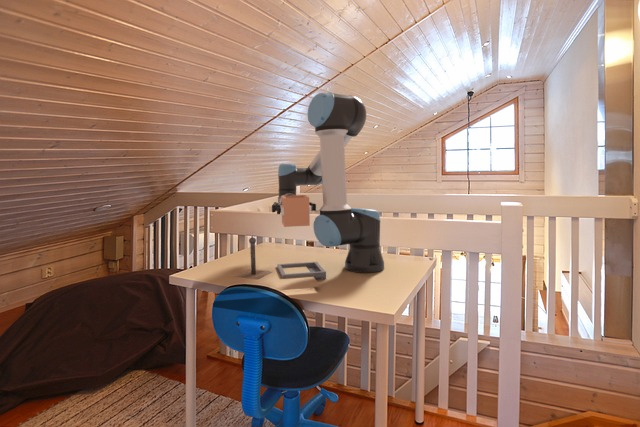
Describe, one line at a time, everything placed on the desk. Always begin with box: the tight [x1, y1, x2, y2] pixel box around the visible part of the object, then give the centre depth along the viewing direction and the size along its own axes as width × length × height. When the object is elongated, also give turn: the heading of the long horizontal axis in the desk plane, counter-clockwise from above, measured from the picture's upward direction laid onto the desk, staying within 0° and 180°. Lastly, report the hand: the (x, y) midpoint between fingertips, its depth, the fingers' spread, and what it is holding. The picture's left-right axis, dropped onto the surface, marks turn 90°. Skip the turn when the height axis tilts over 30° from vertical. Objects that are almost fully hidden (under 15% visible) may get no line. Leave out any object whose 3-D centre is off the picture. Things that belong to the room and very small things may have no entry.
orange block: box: [281, 194, 311, 228], centre depth 143 cm, size 9×9×10 cm
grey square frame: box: [276, 261, 327, 281], centre depth 145 cm, size 15×15×2 cm
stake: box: [233, 237, 273, 280], centre depth 141 cm, size 10×10×15 cm
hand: (296, 210), depth 138 cm, fingers closed on orange block, 9 cm apart
